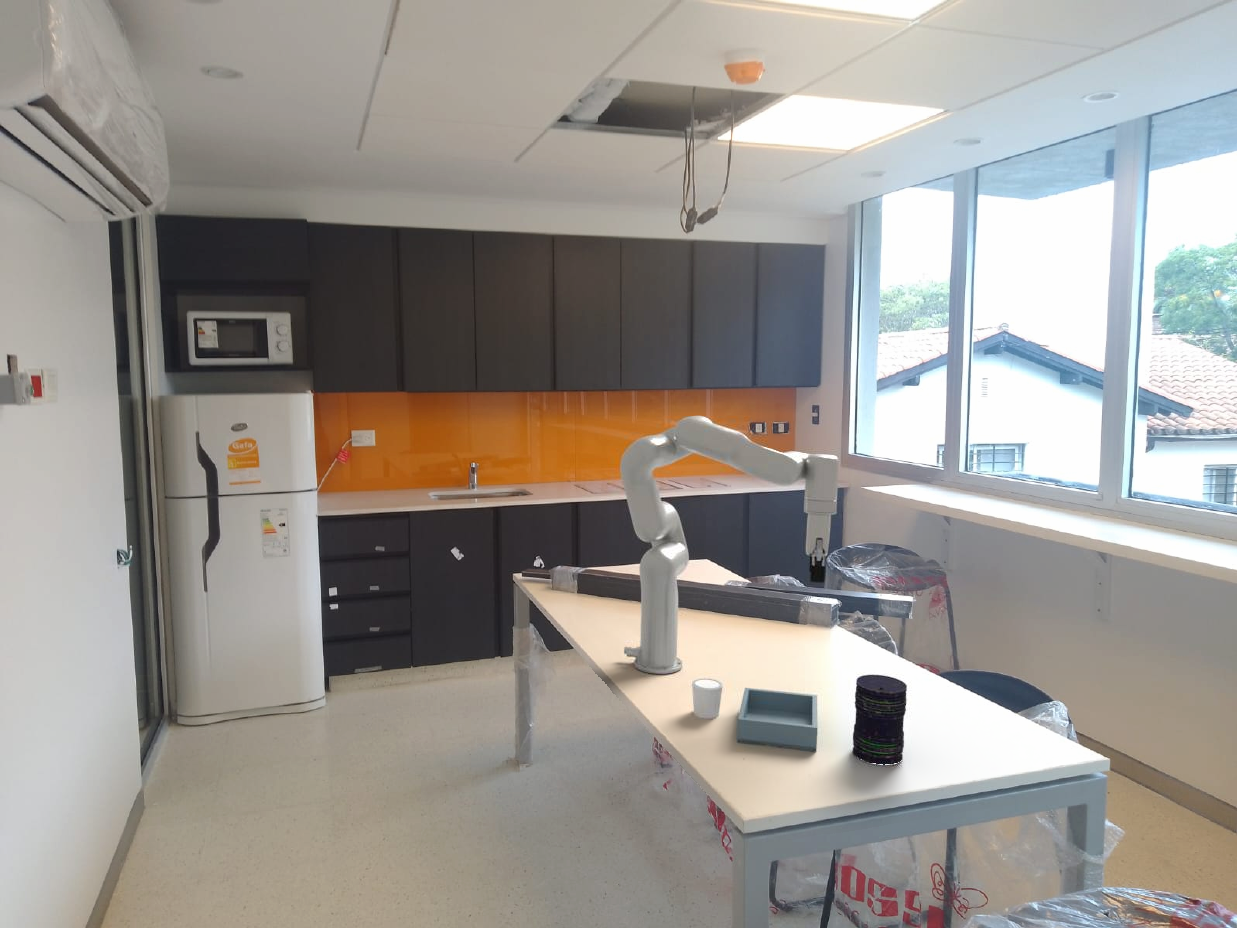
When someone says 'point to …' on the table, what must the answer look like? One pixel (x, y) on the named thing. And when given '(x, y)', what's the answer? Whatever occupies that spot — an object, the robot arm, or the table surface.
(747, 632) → the table surface
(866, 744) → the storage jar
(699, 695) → the white cup
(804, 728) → the open box
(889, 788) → the table surface
